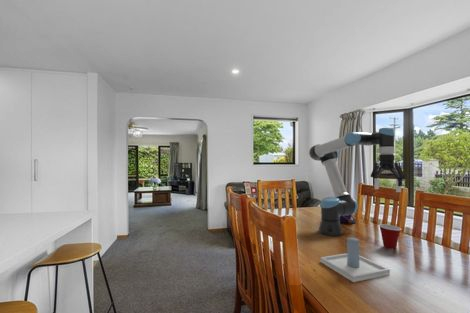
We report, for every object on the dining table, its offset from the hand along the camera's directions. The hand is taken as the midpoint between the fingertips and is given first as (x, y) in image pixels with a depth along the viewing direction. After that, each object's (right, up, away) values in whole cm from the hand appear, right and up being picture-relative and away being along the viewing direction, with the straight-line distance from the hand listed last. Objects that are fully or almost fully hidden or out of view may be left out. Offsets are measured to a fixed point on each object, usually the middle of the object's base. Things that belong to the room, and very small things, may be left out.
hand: (387, 190), depth 136 cm
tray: (-35, -31, -29) cm, 55 cm away
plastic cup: (-1, -32, -4) cm, 32 cm away
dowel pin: (-35, -30, -29) cm, 54 cm away
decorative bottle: (-2, -33, +52) cm, 61 cm away
